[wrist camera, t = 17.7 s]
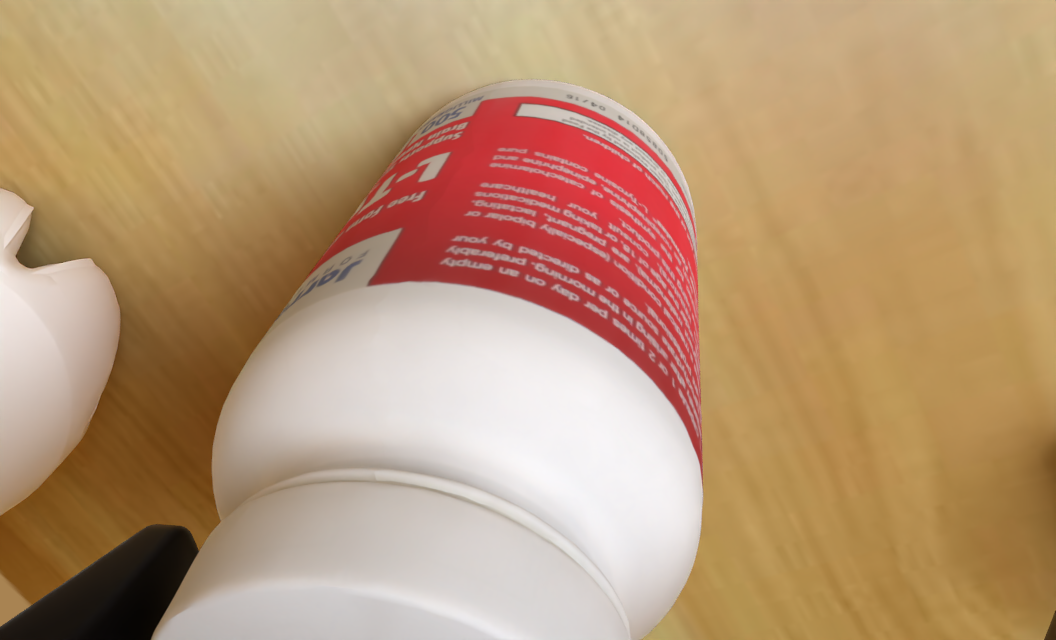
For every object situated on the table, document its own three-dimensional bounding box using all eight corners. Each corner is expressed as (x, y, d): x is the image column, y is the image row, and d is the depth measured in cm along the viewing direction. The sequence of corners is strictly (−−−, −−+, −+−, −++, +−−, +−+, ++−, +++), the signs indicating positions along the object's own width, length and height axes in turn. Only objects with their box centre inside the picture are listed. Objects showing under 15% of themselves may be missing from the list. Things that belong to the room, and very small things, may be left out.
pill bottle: (463, 8, 15) (113, 388, 6) (758, 165, 16) (870, 722, 6) (355, 270, 18) (28, 770, 9) (602, 388, 19) (529, 959, 10)
